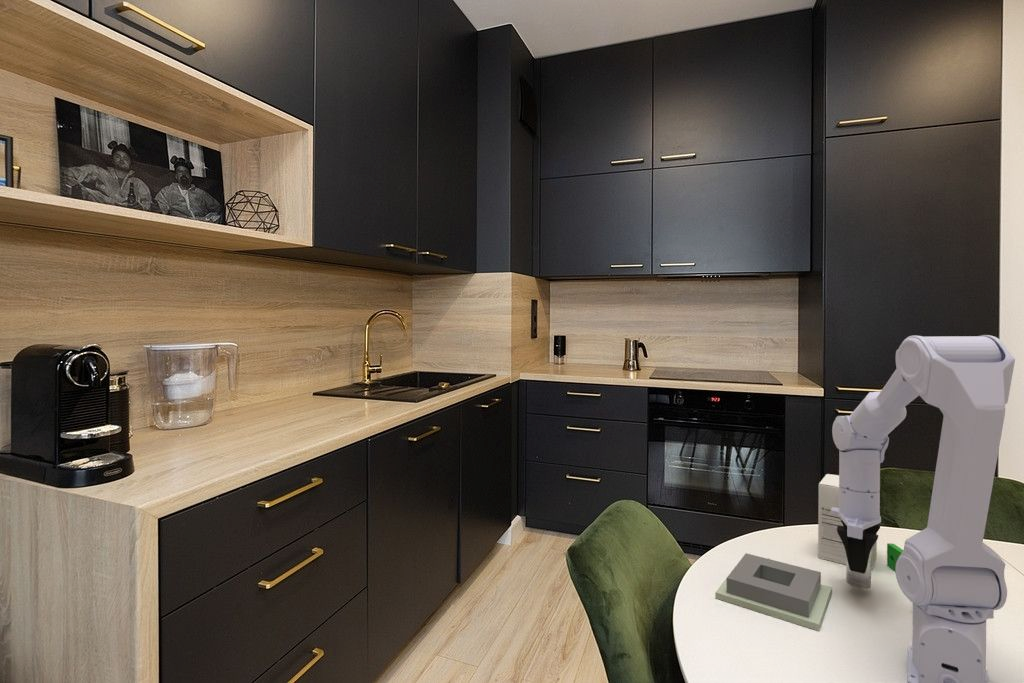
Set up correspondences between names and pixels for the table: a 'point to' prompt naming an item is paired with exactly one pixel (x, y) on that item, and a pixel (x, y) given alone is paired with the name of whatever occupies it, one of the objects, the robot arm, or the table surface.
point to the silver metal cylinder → (859, 576)
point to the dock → (777, 590)
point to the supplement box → (832, 523)
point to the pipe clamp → (893, 555)
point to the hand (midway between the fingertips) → (858, 566)
